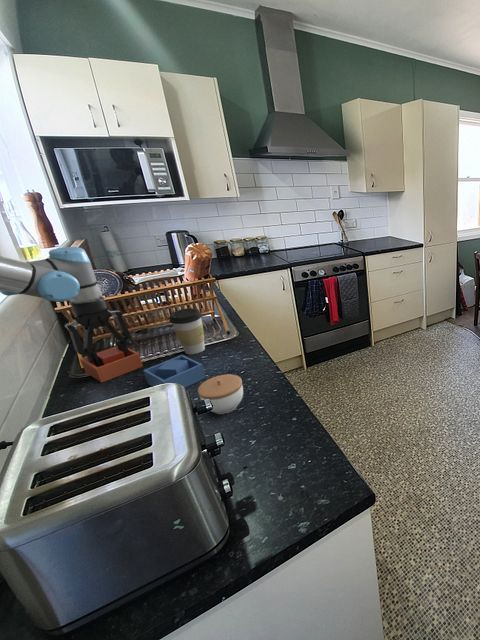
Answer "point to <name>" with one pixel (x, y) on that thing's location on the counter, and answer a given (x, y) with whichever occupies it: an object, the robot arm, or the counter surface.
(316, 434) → the counter surface
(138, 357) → the rust bin
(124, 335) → the robot arm
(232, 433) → the counter surface
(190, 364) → the blue bin
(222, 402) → the trinket box
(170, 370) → the blue block
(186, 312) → the coffee cup
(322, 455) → the counter surface
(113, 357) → the rust block
